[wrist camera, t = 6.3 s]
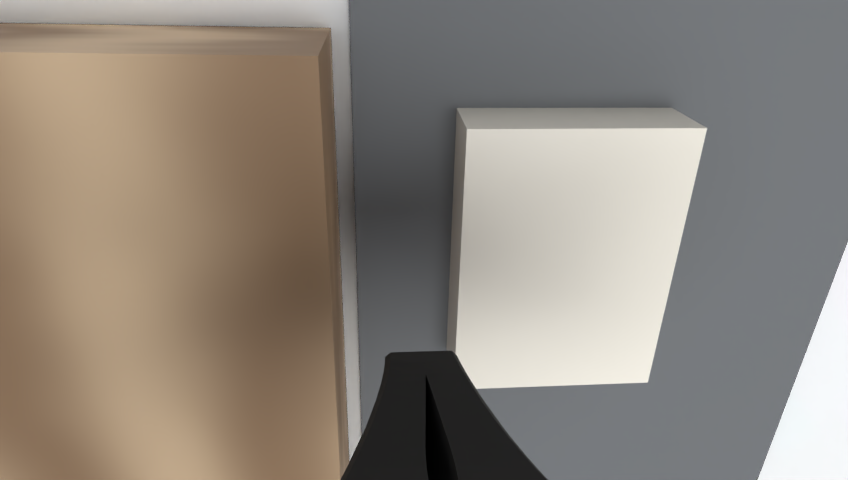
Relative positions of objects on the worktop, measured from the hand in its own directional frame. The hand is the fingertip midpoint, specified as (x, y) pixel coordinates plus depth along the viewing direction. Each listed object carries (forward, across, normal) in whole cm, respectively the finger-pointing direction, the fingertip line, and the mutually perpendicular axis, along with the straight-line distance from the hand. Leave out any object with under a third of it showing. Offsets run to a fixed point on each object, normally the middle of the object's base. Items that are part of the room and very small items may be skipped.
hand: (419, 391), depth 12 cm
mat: (+7, -6, +1) cm, 9 cm away
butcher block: (+7, +10, +2) cm, 12 cm away
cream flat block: (+5, -4, 0) cm, 6 cm away
